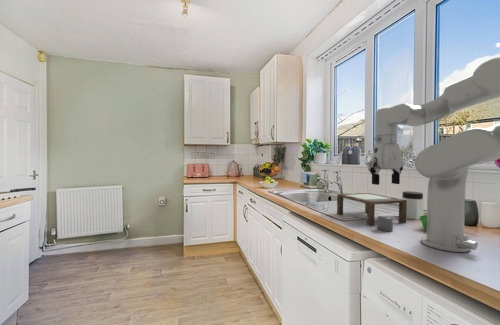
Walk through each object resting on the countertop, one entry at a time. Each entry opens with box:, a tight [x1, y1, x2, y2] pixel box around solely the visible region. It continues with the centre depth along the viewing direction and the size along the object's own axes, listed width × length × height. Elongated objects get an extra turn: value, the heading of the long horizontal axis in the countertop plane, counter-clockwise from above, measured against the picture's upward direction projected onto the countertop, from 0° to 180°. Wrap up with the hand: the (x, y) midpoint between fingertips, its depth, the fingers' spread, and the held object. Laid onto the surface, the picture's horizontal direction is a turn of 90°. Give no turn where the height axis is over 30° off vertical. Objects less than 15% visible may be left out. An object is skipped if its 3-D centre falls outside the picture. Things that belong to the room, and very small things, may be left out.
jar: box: [401, 190, 425, 221], centre depth 117 cm, size 9×8×12 cm
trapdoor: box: [346, 193, 395, 201], centre depth 115 cm, size 17×14×2 cm
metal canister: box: [377, 215, 394, 233], centre depth 97 cm, size 5×5×5 cm
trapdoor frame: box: [336, 192, 407, 227], centre depth 115 cm, size 22×19×10 cm
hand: (385, 184), depth 96 cm, fingers open, 9 cm apart
